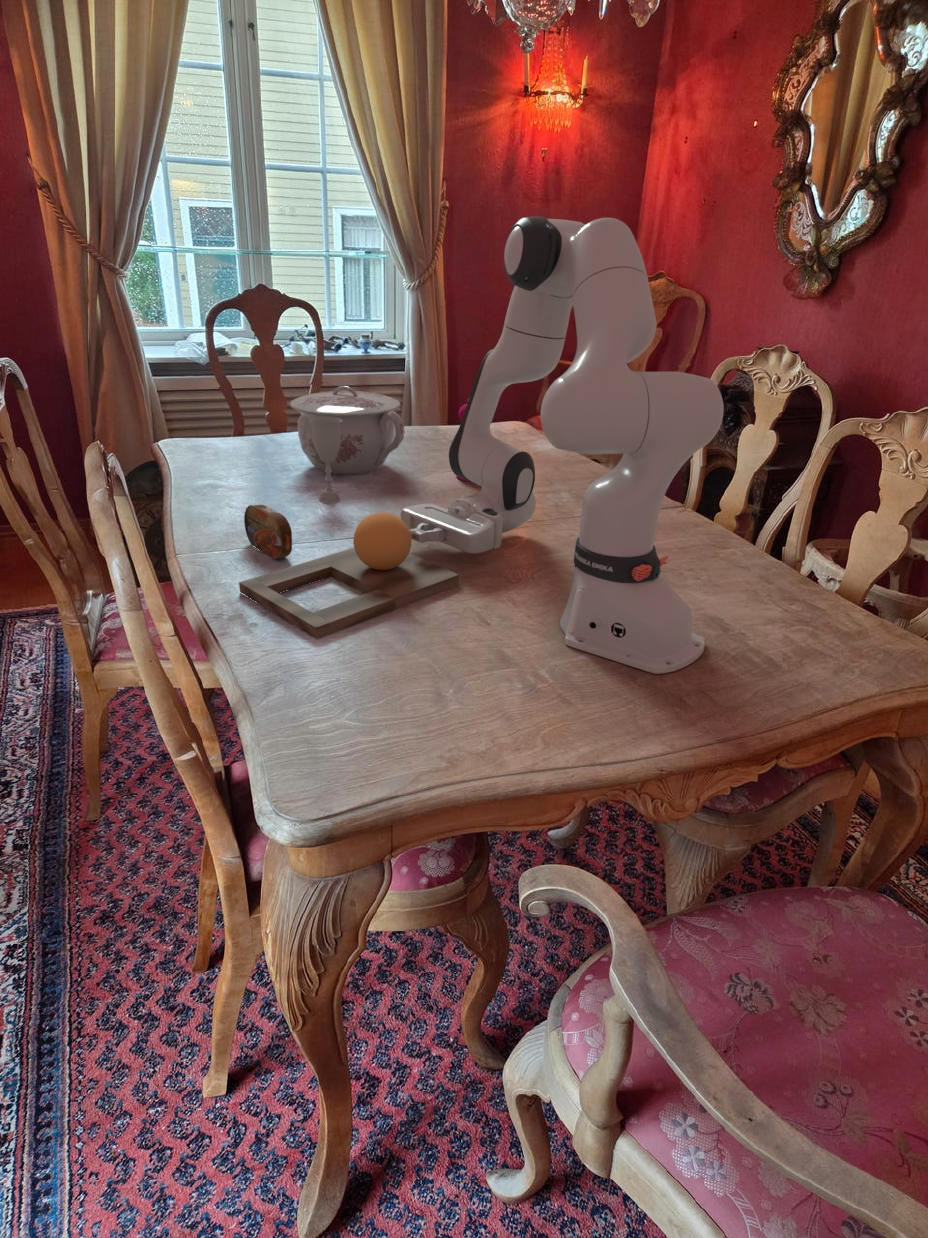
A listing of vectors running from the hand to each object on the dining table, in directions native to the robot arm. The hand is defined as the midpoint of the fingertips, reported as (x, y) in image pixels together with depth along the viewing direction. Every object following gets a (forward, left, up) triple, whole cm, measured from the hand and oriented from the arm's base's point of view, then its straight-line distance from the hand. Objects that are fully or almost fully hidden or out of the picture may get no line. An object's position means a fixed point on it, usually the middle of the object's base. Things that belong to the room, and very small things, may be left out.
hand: (414, 536), depth 138 cm
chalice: (+42, -12, -6) cm, 44 cm away
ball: (0, +8, +1) cm, 8 cm away
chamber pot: (+60, -30, -6) cm, 68 cm away
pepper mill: (+34, -48, -6) cm, 60 cm away
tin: (+24, +15, -6) cm, 29 cm away
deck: (0, +14, -6) cm, 15 cm away
